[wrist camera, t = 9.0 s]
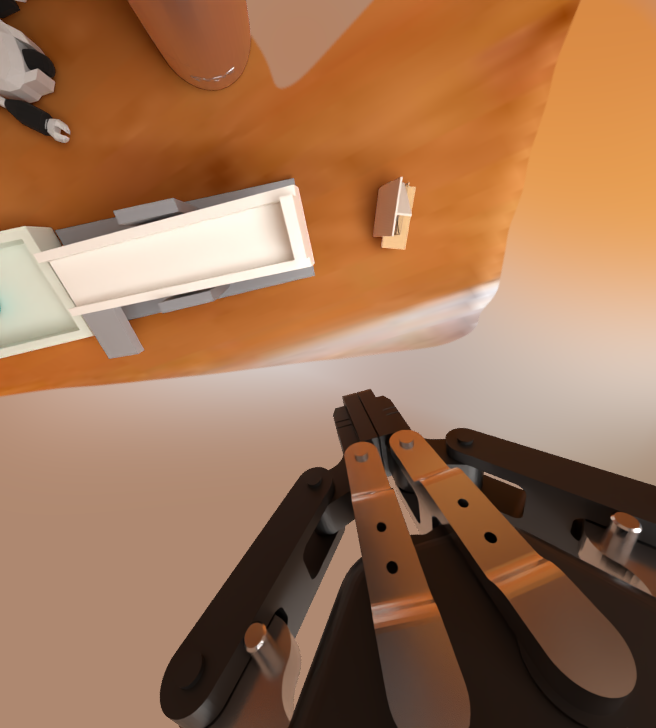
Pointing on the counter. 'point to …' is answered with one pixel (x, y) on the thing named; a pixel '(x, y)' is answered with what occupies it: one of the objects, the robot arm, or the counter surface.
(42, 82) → the robot toy
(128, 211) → the stand
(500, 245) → the counter surface
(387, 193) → the architectural model
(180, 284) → the trough
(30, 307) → the tray
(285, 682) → the robot arm
